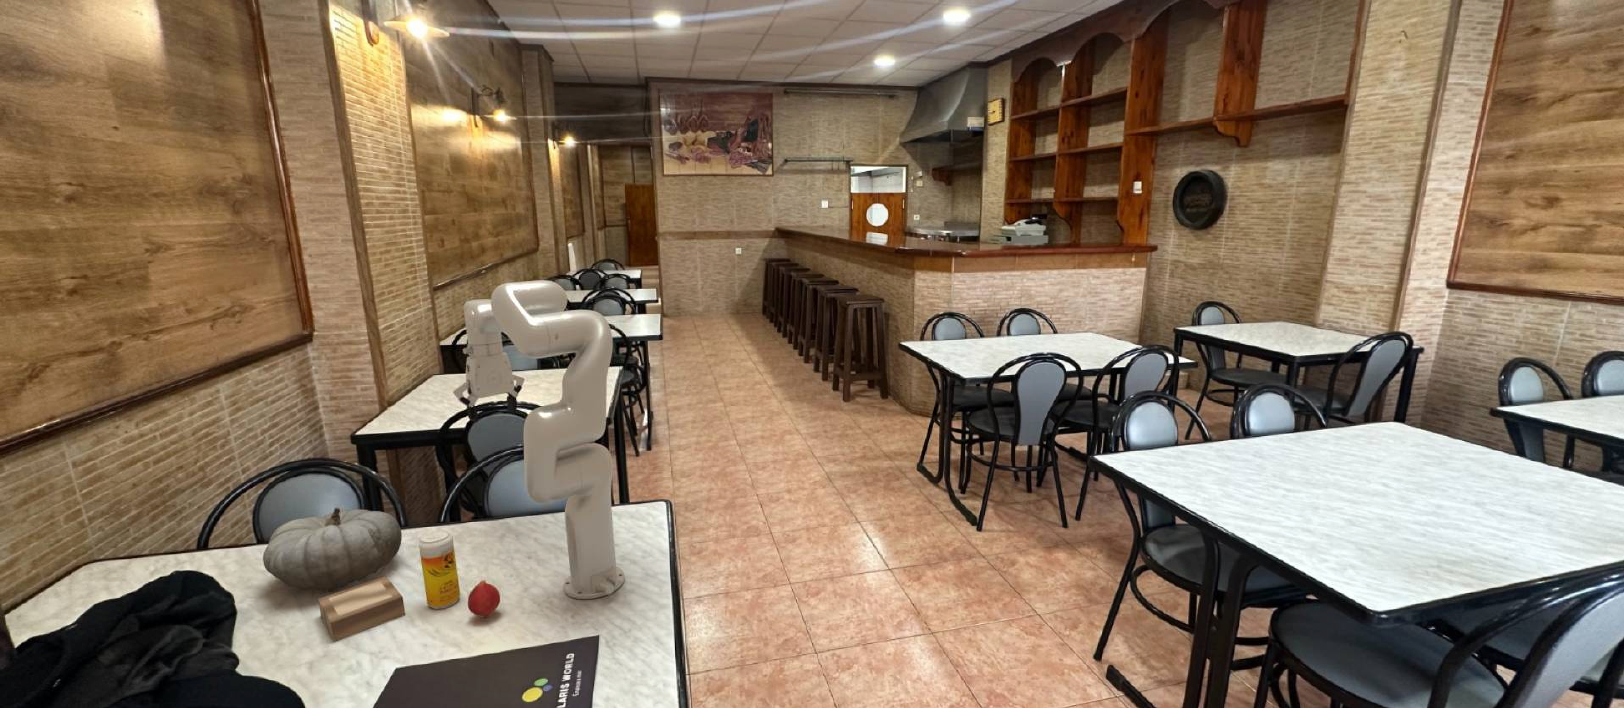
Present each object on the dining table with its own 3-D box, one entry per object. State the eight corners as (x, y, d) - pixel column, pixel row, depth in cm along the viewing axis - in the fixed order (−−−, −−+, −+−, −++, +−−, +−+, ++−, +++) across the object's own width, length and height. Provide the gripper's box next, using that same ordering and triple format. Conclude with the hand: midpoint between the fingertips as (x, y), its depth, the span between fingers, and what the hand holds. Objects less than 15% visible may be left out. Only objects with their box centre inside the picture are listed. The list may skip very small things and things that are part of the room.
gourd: (333, 605, 134) (316, 522, 133) (239, 612, 140) (222, 532, 139) (430, 557, 158) (416, 486, 157) (346, 564, 164) (332, 496, 163)
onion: (470, 628, 130) (465, 591, 128) (469, 613, 135) (465, 577, 133) (502, 619, 133) (498, 583, 131) (501, 605, 138) (496, 570, 136)
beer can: (446, 611, 136) (436, 544, 133) (420, 609, 137) (410, 541, 134) (467, 595, 142) (458, 530, 139) (442, 593, 143) (433, 528, 140)
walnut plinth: (405, 614, 135) (402, 596, 134) (334, 641, 127) (331, 622, 126) (388, 592, 143) (385, 575, 142) (321, 616, 135) (317, 598, 134)
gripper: (456, 357, 155) (465, 427, 158) (527, 345, 168) (534, 411, 172) (442, 353, 160) (451, 422, 163) (512, 343, 173) (519, 406, 176)
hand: (493, 416), depth 167 cm, fingers open, 9 cm apart
